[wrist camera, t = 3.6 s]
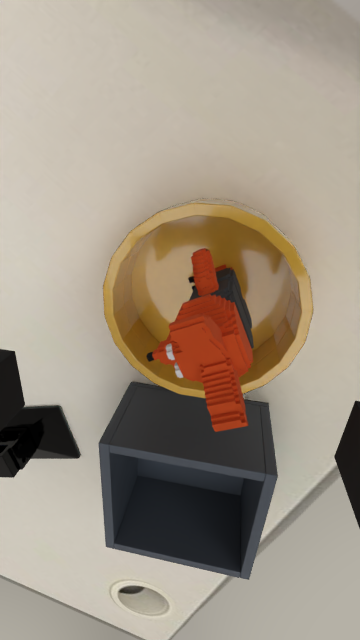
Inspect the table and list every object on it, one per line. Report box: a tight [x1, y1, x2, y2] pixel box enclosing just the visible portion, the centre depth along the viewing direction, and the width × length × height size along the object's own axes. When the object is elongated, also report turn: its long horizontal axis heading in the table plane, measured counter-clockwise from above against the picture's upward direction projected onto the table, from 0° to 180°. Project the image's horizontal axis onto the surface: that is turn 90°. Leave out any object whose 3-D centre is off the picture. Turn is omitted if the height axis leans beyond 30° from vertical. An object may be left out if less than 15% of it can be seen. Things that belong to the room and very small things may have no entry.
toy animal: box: [146, 248, 254, 432], centre depth 18 cm, size 8×6×12 cm
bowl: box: [103, 198, 313, 398], centre depth 22 cm, size 13×13×4 cm
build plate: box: [0, 406, 80, 477], centre depth 33 cm, size 12×7×5 cm, turn 102°
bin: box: [99, 382, 278, 579], centre depth 28 cm, size 13×13×8 cm
